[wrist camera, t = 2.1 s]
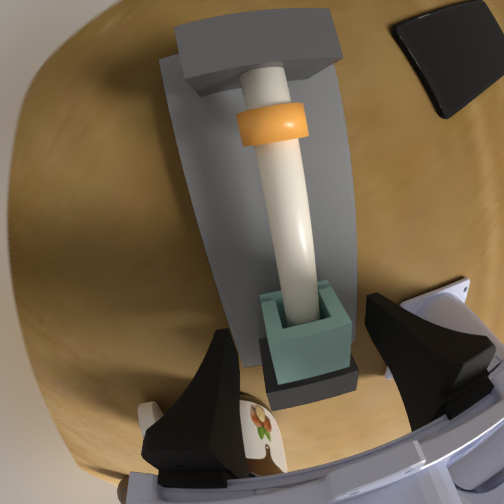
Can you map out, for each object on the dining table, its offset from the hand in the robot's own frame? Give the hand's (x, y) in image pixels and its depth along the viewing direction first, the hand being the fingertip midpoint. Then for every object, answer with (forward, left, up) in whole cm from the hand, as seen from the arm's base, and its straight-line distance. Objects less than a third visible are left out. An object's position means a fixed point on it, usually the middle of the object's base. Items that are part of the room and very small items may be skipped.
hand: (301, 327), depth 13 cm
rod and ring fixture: (+4, 0, -4) cm, 6 cm away
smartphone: (+15, -17, -4) cm, 23 cm away
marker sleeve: (0, 0, -1) cm, 2 cm away
